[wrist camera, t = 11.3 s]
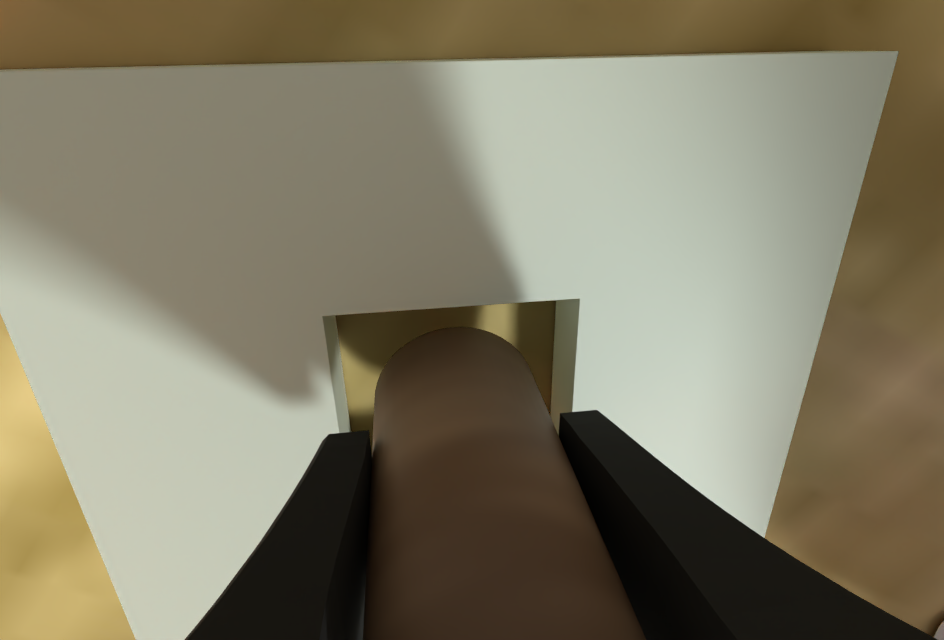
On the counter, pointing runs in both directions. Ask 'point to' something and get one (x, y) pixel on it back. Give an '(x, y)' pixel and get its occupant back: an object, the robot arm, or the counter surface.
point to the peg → (479, 506)
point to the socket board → (410, 265)
